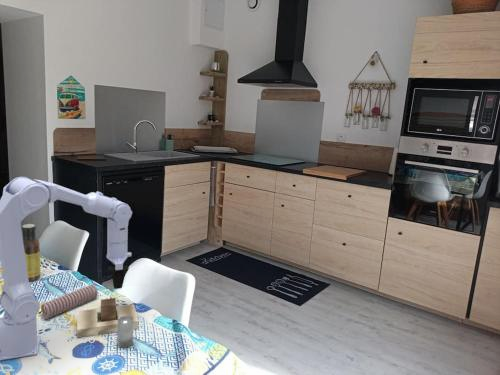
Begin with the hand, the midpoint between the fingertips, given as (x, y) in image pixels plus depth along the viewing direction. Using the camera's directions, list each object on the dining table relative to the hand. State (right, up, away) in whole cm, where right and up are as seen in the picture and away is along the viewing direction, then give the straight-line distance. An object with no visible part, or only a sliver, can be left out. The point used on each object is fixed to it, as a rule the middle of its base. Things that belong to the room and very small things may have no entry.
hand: (117, 282), depth 115 cm
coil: (-16, -9, +3) cm, 18 cm away
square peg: (-1, -11, -5) cm, 12 cm away
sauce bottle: (-38, -4, +19) cm, 42 cm away
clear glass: (+7, -13, -13) cm, 20 cm away
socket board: (-1, -11, -5) cm, 12 cm away
